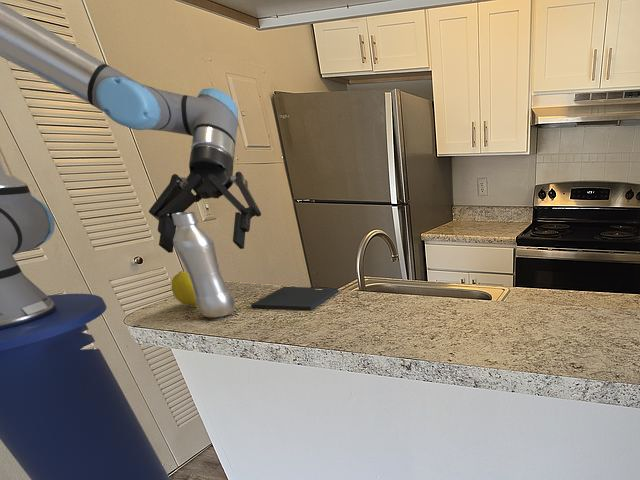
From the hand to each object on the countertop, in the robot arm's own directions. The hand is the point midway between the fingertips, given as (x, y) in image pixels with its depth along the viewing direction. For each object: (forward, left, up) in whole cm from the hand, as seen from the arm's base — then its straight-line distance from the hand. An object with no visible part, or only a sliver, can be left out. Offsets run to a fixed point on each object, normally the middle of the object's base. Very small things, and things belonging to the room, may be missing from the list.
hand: (202, 247), depth 79 cm
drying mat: (+11, +8, -13) cm, 20 cm away
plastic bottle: (0, -2, -14) cm, 14 cm away
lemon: (-9, +2, -14) cm, 16 cm away
